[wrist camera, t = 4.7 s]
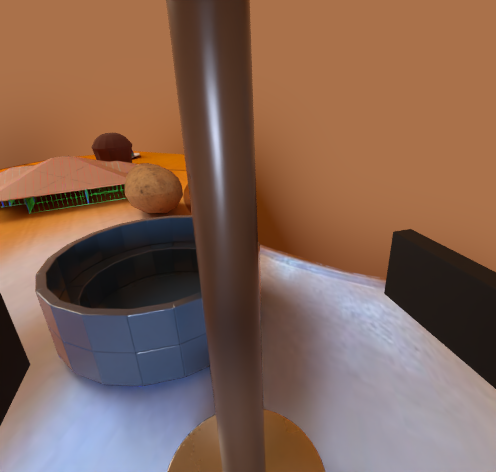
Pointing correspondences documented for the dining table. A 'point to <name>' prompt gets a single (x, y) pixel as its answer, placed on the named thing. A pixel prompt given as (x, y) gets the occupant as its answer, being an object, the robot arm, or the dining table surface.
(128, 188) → the potato
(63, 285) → the bowl
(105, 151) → the muffin
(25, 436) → the dining table surface
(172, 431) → the dining table surface
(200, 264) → the brown rod with cylinder
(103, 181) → the house
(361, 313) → the dining table surface
